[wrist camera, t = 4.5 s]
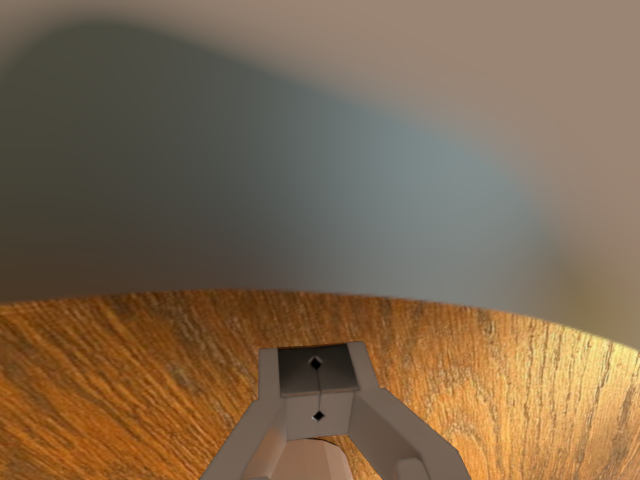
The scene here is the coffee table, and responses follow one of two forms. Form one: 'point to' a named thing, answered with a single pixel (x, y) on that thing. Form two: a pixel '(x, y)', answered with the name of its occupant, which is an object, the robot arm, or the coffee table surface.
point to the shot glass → (312, 462)
